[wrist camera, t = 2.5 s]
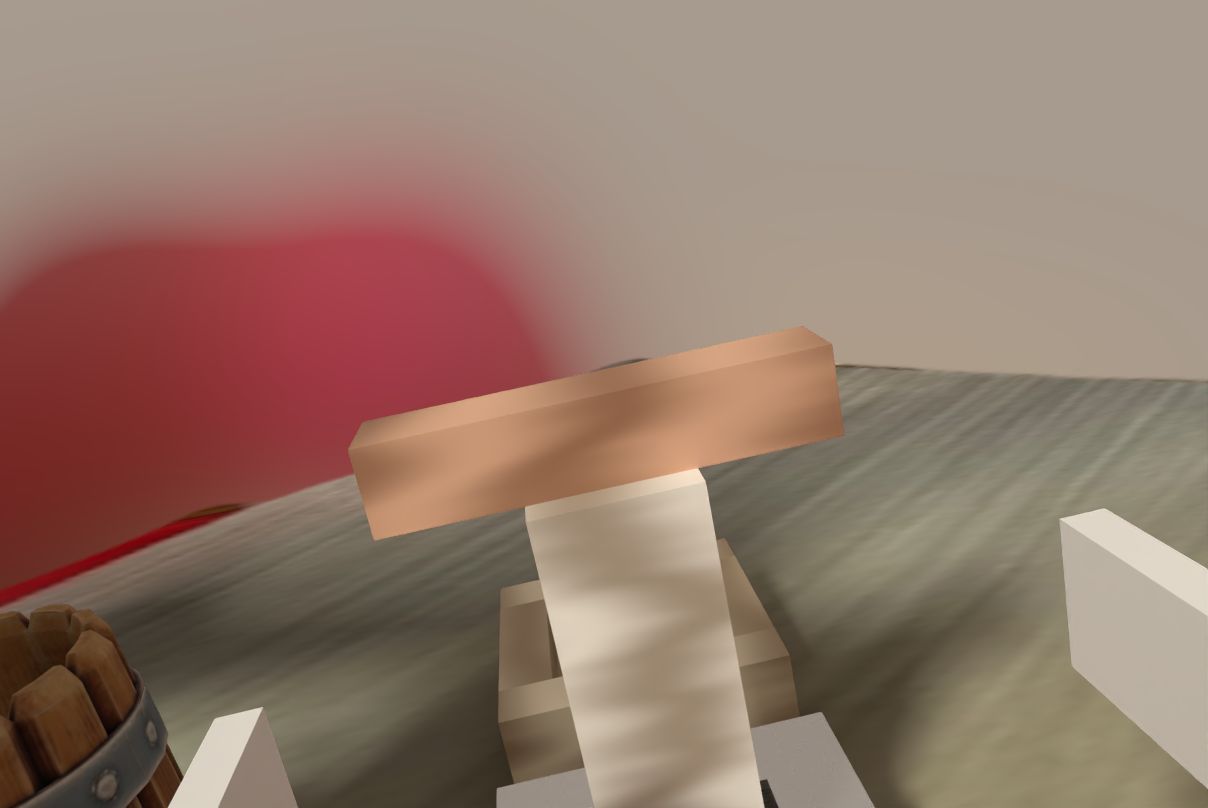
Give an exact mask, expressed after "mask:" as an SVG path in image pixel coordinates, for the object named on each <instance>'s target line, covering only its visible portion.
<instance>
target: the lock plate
mask: <svg viewBox="0 0 1208 808" xmlns="http://www.w3.org/2000/svg"><path fill="white" fill-rule="evenodd" d="M750 731H751V736H752V742H753V747H754V753H755V758H756V764H757V769H758V775H759V780H760V786H761V792H762V797H763V803H764V808H875V807H874V805H873V803H872V801H871V800H870V798H869V796H868V794H867V792H866V791H865V789H864V787H863V785H862V784H861V782H860V780H859V778H858V776H857V775H856V773H855V771H854V769H853V767H852V766H851V764H850V762H849V760H848V758H847V757H846V755H845V753H844V751H843V749H842V748H841V746H840V744H839V742H838V740H837V739H836V737H835V735H834V733H833V731H832V730H831V728H830V726H829V724H828V722H827V721H826V719H825V717H824V715H823V713H822V712H819V713H814V714H810V715H806V716H802V717H797V718H793V719H789V720H785V721H780V722H776V723H772V724H768V725H763V726H759V727H755V728H751V729H750ZM496 808H594V803H593V799H592V795H591V791H590V787H589V783H588V778H587V774H586V770H585V768H581V769H576V770H572V771H568V772H564V773H559V774H555V775H551V776H547V777H542V778H538V779H534V780H530V781H525V782H521V783H517V784H513V785H509V786H504V787H500V788H497V807H496Z"/></svg>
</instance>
